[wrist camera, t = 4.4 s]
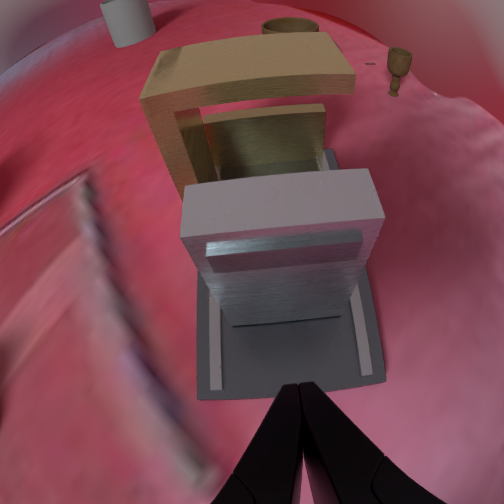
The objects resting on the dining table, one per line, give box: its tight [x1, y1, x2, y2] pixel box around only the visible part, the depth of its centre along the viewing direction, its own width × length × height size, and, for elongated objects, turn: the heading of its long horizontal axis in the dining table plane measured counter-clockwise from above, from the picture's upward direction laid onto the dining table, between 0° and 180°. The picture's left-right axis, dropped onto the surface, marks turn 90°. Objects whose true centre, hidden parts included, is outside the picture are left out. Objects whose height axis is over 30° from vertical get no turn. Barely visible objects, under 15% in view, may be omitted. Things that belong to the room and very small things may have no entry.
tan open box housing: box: [139, 32, 356, 202], centre depth 17 cm, size 7×9×11 cm
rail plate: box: [197, 149, 386, 400], centre depth 19 cm, size 17×10×1 cm, turn 3°
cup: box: [100, 0, 156, 48], centre depth 41 cm, size 8×8×10 cm
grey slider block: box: [180, 168, 385, 326], centre depth 13 cm, size 2×6×9 cm, turn 93°
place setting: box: [261, 17, 412, 97], centre depth 30 cm, size 18×20×6 cm
